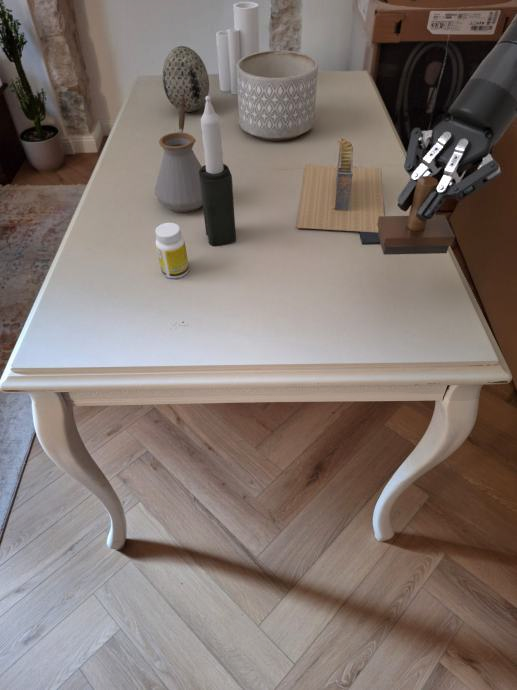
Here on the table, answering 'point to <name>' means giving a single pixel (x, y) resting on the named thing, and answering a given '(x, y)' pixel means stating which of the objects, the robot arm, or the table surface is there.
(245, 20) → the vase
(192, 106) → the decorative egg
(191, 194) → the grey ribbed jar
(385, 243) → the brown block with cylinder
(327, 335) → the table surface
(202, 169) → the candle
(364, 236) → the mat
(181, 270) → the supplement bottle
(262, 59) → the planter
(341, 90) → the table surface
